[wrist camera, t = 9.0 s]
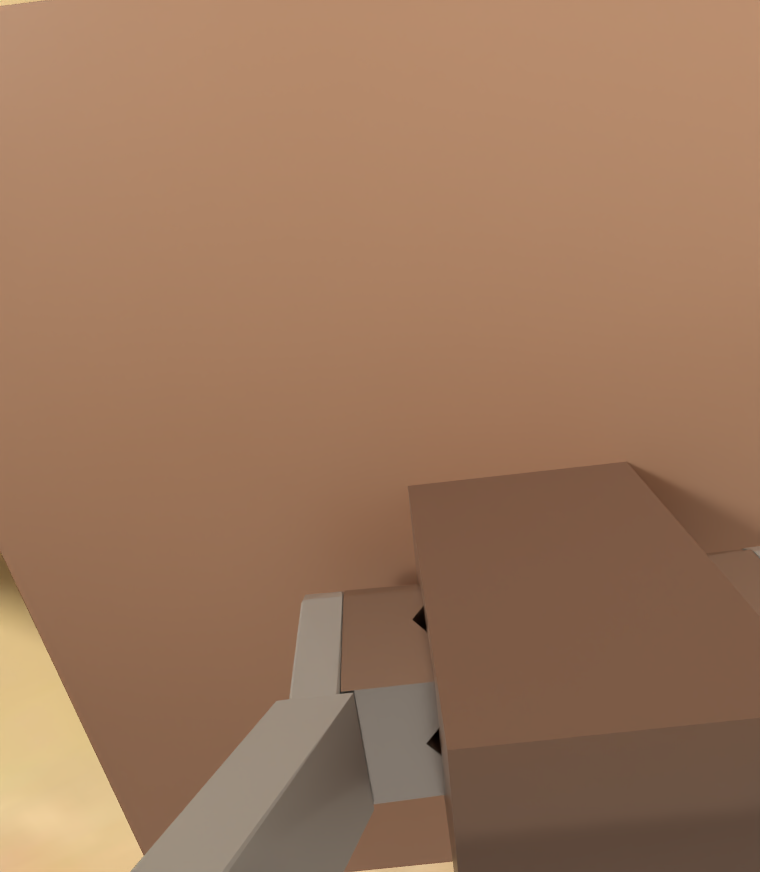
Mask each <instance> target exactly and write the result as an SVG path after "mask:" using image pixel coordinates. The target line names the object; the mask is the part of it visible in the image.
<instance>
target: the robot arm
mask: <svg viewBox="0 0 760 872" xmlns="http://www.w3.org/2000/svg"><path fill="white" fill-rule="evenodd" d="M706 555H707V556H708V557H709V558H710V559H711V560H712V562H713V563H714V564H715V565H716V566H717V567H718V569H719V570H720V571H721V572H722V573H723V574H724V575H725V577H726V578H727V579H728V580H729V581H730V582H731V584H732V585H733V586H734V587H735V588H736V589H737V591H738V592H739V593H740V594H741V595H742V596H743V598H744V599H745V600H746V601H747V602H748V603H749V605H750V606H751V607H752V608H753V609H754V610H755V612H756V613H757V614H758V615H759V616H760V546H756V547H748V548H742V549H741V550H730V551H722V552H713V553H706ZM438 729H439V722H438V711H437V701H436V690H435V680H434V673H433V666H432V660H431V653H430V646H429V639H428V633H427V632H426V625H425V614H424V605H423V598H422V591H421V585H420V584H416V585H405V586H393V587H381V588H369V589H357V590H346V591H345V592H330V593H318V594H307V595H305V597H304V599H303V601H302V603H301V609H300V617H299V625H298V632H297V640H296V648H295V656H294V664H293V672H292V680H291V688H290V696H289V699H287V700H279V701H276V702H275V703H274V704H273V705H272V707H271V708H270V709H269V710H268V711H267V712H266V714H265V715H264V716H263V717H262V718H261V719H260V721H259V722H258V723H257V724H256V725H255V726H254V728H253V729H252V730H251V731H250V732H249V733H248V735H247V736H246V737H245V738H244V739H243V740H242V742H241V743H240V744H239V745H238V746H237V748H236V749H235V750H234V751H233V752H232V753H231V755H230V756H229V757H228V758H227V759H226V760H225V762H224V763H223V764H222V765H221V766H220V767H219V769H218V770H217V771H216V772H215V773H214V774H213V776H212V777H211V778H210V779H209V780H208V781H207V783H206V784H205V785H204V786H203V787H202V788H201V790H200V791H199V792H198V793H197V794H196V795H195V797H194V798H193V799H192V800H191V801H190V803H189V804H188V805H187V806H186V807H185V808H184V810H183V811H182V812H181V813H180V814H179V815H178V817H177V818H176V819H175V820H174V821H173V822H172V824H171V825H170V826H169V827H168V828H167V829H166V831H165V832H164V833H163V834H162V835H161V836H160V838H159V839H158V840H157V841H156V842H155V843H154V845H153V846H152V847H151V848H150V849H149V851H148V852H147V853H146V854H145V855H144V856H143V858H142V859H141V860H140V861H139V862H138V863H137V865H136V866H135V867H134V868H133V869H132V870H131V872H344V870H345V868H346V866H347V864H348V862H349V860H350V858H351V856H352V854H353V852H354V850H355V848H356V846H357V844H358V842H359V840H360V838H361V836H362V833H363V831H364V829H365V827H366V825H367V823H368V821H369V819H370V817H371V815H372V813H373V811H374V805H373V804H380V803H388V802H395V801H403V800H411V799H418V798H426V797H433V796H441V795H445V785H444V775H443V764H442V754H441V747H440V740H439V732H438Z"/></svg>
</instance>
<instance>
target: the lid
mask: <svg viewBox="0 0 760 872" xmlns="http://www.w3.org/2000/svg"><path fill="white" fill-rule="evenodd" d="M756 546H760V0H45V1H37V2H29V3H21V4H13V5H5V6H0V552H1V554H2V556H3V558H4V560H5V562H6V564H7V566H8V569H9V571H10V573H11V575H12V577H13V579H14V581H15V583H16V586H17V588H18V590H19V592H20V594H21V596H22V598H23V600H24V602H25V605H26V607H27V609H28V611H29V613H30V615H31V617H32V619H33V622H34V624H35V626H36V628H37V630H38V632H39V634H40V636H41V639H42V641H43V643H44V645H45V647H46V649H47V651H48V653H49V655H50V658H51V660H52V662H53V664H54V666H55V668H56V670H57V672H58V675H59V677H60V679H61V681H62V683H63V685H64V687H65V689H66V692H67V694H68V696H69V698H70V700H71V702H72V704H73V706H74V709H75V711H76V713H77V715H78V717H79V719H80V721H81V723H82V725H83V728H84V730H85V732H86V734H87V736H88V738H89V740H90V742H91V745H92V747H93V749H94V751H95V753H96V755H97V757H98V759H99V762H100V764H101V766H102V768H103V770H104V772H105V774H106V776H107V778H108V781H109V783H110V785H111V787H112V789H113V791H114V793H115V795H116V798H117V800H118V802H119V804H120V806H121V808H122V810H123V812H124V815H125V817H126V819H127V821H128V823H129V825H130V827H131V829H132V831H133V834H134V836H135V838H136V840H137V842H138V844H139V846H140V848H141V851H142V853H143V855H145V854H146V853H147V852H148V851H149V849H150V848H151V847H152V846H153V845H154V843H155V842H156V841H157V840H158V839H159V838H160V836H161V835H162V834H163V833H164V832H165V831H166V829H167V828H168V827H169V826H170V825H171V824H172V822H173V821H174V820H175V819H176V818H177V817H178V815H179V814H180V813H181V812H182V811H183V810H184V808H185V807H186V806H187V805H188V804H189V803H190V801H191V800H192V799H193V798H194V797H195V795H196V794H197V793H198V792H199V791H200V790H201V788H202V787H203V786H204V785H205V784H206V783H207V781H208V780H209V779H210V778H211V777H212V776H213V774H214V773H215V772H216V771H217V770H218V769H219V767H220V766H221V765H222V764H223V763H224V762H225V760H226V759H227V758H228V757H229V756H230V755H231V753H232V752H233V751H234V750H235V749H236V748H237V746H238V745H239V744H240V743H241V742H242V740H243V739H244V738H245V737H246V736H247V735H248V733H249V732H250V731H251V730H252V729H253V728H254V726H255V725H256V724H257V723H258V722H259V721H260V719H261V718H262V717H263V716H264V715H265V714H266V712H267V711H268V710H269V709H270V708H271V707H272V705H273V704H274V703H275V702H276V701H279V700H287V699H289V696H290V688H291V680H292V672H293V664H294V656H295V648H296V640H297V632H298V625H299V617H300V609H301V603H302V601H303V599H304V597H305V595H307V594H318V593H330V592H345V591H346V590H357V589H369V588H381V587H393V586H405V585H416V584H420V585H421V591H422V598H423V605H424V614H425V625H426V632H427V633H428V639H429V646H430V653H431V660H432V666H433V673H434V680H435V690H436V701H437V711H438V722H439V729H438V732H439V740H440V747H441V754H442V764H443V775H444V785H445V795H441V796H433V797H426V798H418V799H411V800H403V801H395V802H388V803H380V804H373V805H374V811H373V813H372V815H371V817H370V819H369V821H368V823H367V825H366V827H365V829H364V831H363V833H362V836H361V838H360V840H359V842H358V844H357V846H356V848H355V850H354V852H353V854H352V856H351V858H350V860H349V862H348V864H347V866H346V868H345V870H344V872H353V871H363V870H372V869H382V868H392V867H402V866H412V865H422V864H432V863H442V862H452V861H453V867H454V872H760V616H759V615H758V614H757V613H756V612H755V610H754V609H753V608H752V607H751V606H750V605H749V603H748V602H747V601H746V600H745V599H744V598H743V596H742V595H741V594H740V593H739V592H738V591H737V589H736V588H735V587H734V586H733V585H732V584H731V582H730V581H729V580H728V579H727V578H726V577H725V575H724V574H723V573H722V572H721V571H720V570H719V569H718V567H717V566H716V565H715V564H714V563H713V562H712V560H711V559H710V558H709V557H708V556H707V555H706V553H713V552H722V551H730V550H741V549H742V548H748V547H756Z"/></svg>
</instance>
